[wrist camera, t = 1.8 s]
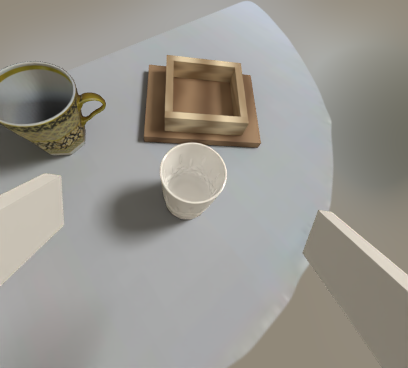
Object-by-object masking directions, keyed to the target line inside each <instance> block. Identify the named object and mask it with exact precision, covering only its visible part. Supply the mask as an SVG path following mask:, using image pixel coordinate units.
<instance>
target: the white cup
mask: <svg viewBox="0 0 408 368" xmlns="http://www.w3.org/2000/svg"><path fill="white" fill-rule="evenodd" d="M160 178H161V184H162V191H163V195H164V199H165V202H166V207H167V208H168V209H169V211H170V212H171V213H172V214H173V215H174V216H176V217H178V218H180V219H193V218H196V217H198V216H200V215H201V214H202V213H203V212H204V211H205V210H206V209H207V208H208V207H209V206H210V205H211V204H212V203H213V202H214V200H215V199H216V198H217V196H218V195H219V194H220V193H221V191H222V190H223V188H224V186H225V184H226V180H227V170H226V166H225V163H224V161H223V159H222V158H221V157H220V155H219V154H218V153H217V152H216V151H215V150H213V149H212V148H210V147H208V146H206V145H203V144H200V143H183V144H180V145H177V146H175V147H174V148H172V149H171V150H169V151H168V152H167V153H166V155H165V156H164V158H163V160H162V162H161V165H160Z"/></svg>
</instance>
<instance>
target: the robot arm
mask: <svg viewBox="0 0 408 368" xmlns="http://www.w3.org/2000/svg"><path fill="white" fill-rule="evenodd" d="M63 226H64V218H63V200H62V183H61V176H60V175H53V174H46V173H44V174H42V175H40V176H38V177H36V178H34V179H32V180H30V181H28V182H26V183H24V184H22V185H20V186H18V187H16V188H14V189H12V190H10V191H7V192H5V193H3V194H1V195H0V286H1V285H2V284H3V283H4V282H5V281H6V280H7V279H8V278H9V277H10V276H11V275H12V274H13V273H15V272H16V271H17V270H18V269H19V268H20V267H21V266H22V265H23V264H24V263H25V262H26V261H27V260H28V259H29V258H30V257H31V256H32V255H33V254H34V253H35V252H36V251H38V250H39V249H40V248H41V247H42V246H43V245H44V244H45V243H46V242H47V241H48V240H49V239H50V238H51V237H52V236H53V235H54V234H55V233H56V232H57V231H58V230H59V229H60V228H62V227H63ZM303 254H304V256H305V257H306V259H307V260H308V262H309V263H310V265H311V266H312V267H313V269H314V270H315V272H316V273H317V274H318V276H319V278H320V279H321V280H322V282H323V283H324V284H325V286H326V287H327V289H328V291H329V292H330V293H331V295H332V296H333V298H334V299H335V300H336V302H337V303H338V305H339V306H340V308H341V309H342V311H343V312H344V314H345V315H346V316H347V318H348V319H349V321H350V322H351V324H352V325H353V326H354V328H355V329H356V330H357V332H358V334H359V335H360V337H361V338H362V340H363V341H364V342H365V344H366V345H367V347H368V348H369V350H370V351H371V352H372V354H373V355H374V357H375V358H376V360H377V361H378V363H379V364H380V365H381V367H382V368H408V275H407V274H406V273H405V272H403V271H402V270H401V269H400V268H399V267H397V266H396V265H395V264H394V263H393V262H391V261H390V260H389V259H388V258H387V257H385V256H384V255H383V254H382V253H381V252H379V251H378V250H377V249H376V248H374V247H373V246H372V245H371V244H370V243H369V242H367V241H366V240H365V239H364V238H363V237H361V236H360V235H359V234H358V233H356V232H355V231H354V230H353V229H352V228H350V227H349V226H348V225H347V224H346V223H344V222H343V221H342V220H341V219H340V218H338V217H337V216H336V215H335V214H333V213H332V212H328V211H321V210H318V212H317V215H316V218H315V220H314V223H313V226H312V229H311V231H310V234H309V237H308V239H307V242H306V245H305V248H304V250H303Z"/></svg>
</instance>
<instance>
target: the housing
mask: <svg viewBox="0 0 408 368" xmlns="http://www.w3.org/2000/svg"><path fill="white" fill-rule="evenodd" d="M144 141H145V142H162V143H181V144H183V143H200V144H203V145H218V146H237V147H256V148H258V146H259V145H260V144H261V141H260V134H259V128H258V121H257V115H256V108H255V102H254V95H253V89H252V82H251V76H250V75H242V70H241V63H233V62H224V61H215V60H207V59H198V58H189V57H180V56H171V55H167V66H157V65H149V74H148V88H147V101H146V115H145V128H144Z"/></svg>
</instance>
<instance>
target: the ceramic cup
mask: <svg viewBox="0 0 408 368" xmlns="http://www.w3.org/2000/svg"><path fill="white" fill-rule="evenodd" d="M93 100H96V101H100V102H101V103H102V104H103V105H102V106H101V107H100V108H98V109H96V110H95V111H93V112H92V113H91V114H90V115H89V116H87V117H84V116H82V113H81V108H82V105H83V103H85V102H88V101H93ZM105 107H106V103H105V100H104V99H103V98H102V97H101V96H100V95H98V94H95V93H84V94H82V95H78V92H77V88H76V85H75V82H74V80H73V78H72V77H71V76H70V75H69V74H68V73H67V72H66V71H65V70H64V69H62V68H60V67H58V66H56V65H53V64H50V63H46V62H38V61H30V62H21V63H16V64H13V65H10V66H7V67H5V68H3V69H1V70H0V123H1V124H2V125H3V126H5V127H6V128H8V129H10V130H11V131H13V132H14V133H16V134H18V135H20V136H22V137H23V138H25V139H27V140H29V141H31V142H32V143H34V144H35V145H37V146H38V147H40V148H42V149H43V150H45V151H46V152H47V153H49V154H51V155H71V154H73V153H74V152H76V151H77V150H78V149H79V148H81V147H82V146H83V145H84V144H85V135H86V130H85V126H84V125H85V124H86V122H87V121H88V120H90V119H91V118H92V117H93V116H94V115H96V114H98V113H100V112H101V111H103V110H104V109H105Z"/></svg>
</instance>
